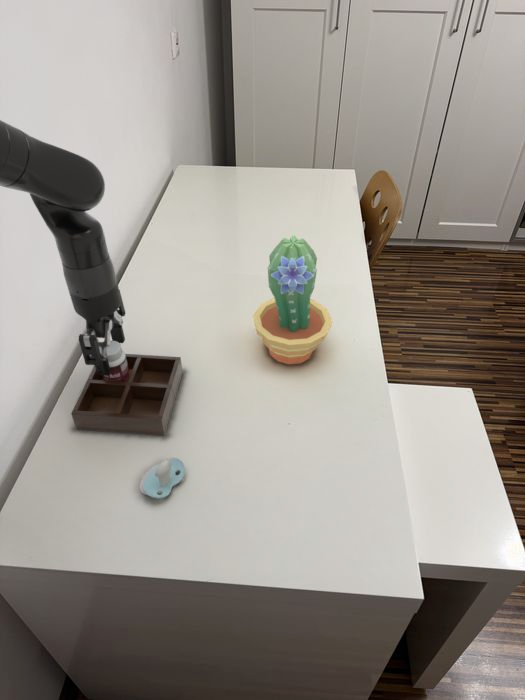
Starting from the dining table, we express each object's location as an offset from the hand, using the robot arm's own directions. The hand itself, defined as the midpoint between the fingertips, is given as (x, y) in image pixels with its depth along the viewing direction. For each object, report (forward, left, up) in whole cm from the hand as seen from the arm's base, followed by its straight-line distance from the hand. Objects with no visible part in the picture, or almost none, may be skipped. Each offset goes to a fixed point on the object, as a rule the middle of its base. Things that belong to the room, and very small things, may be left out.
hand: (112, 357), depth 90 cm
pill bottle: (0, 0, -6) cm, 6 cm away
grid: (0, -5, -7) cm, 8 cm away
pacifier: (-6, -23, -7) cm, 25 cm away
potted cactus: (+31, -15, -7) cm, 35 cm away
